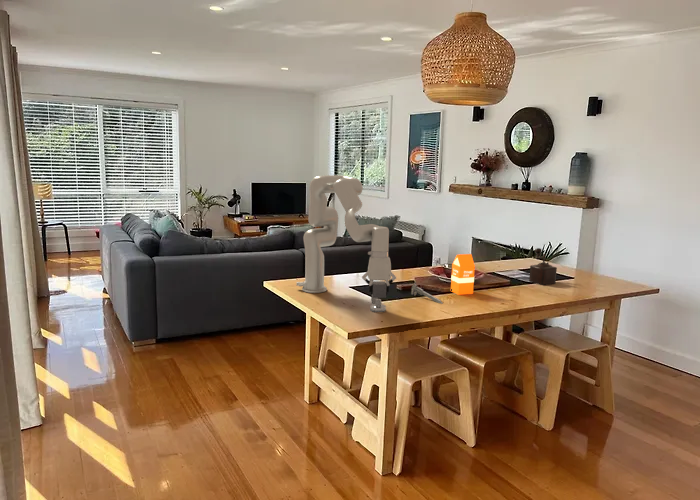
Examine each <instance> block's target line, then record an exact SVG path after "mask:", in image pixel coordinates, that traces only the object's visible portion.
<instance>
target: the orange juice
mask: <svg viewBox="0 0 700 500" xmlns="http://www.w3.org/2000/svg"><path fill="white" fill-rule="evenodd" d="M474 262H475V261H474V259H473V255H472V253H462V254H460V253H459V254H456V256H455V257H454V260H453V262H452V263H451V275H450V276H451V277H450V281H451V283H450V290H451V289H452V291H451V292H452V293H453V294H456V295H457V296H460V295H472V294H474V283H475V270H476V269H475V268H476V265H475V263H474Z"/></svg>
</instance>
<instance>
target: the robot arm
mask: <svg viewBox="0 0 700 500" xmlns="http://www.w3.org/2000/svg"><path fill="white" fill-rule="evenodd" d="M363 190H364V189H363V184H362V182H361V181H360V180H359V179H358V178H357V177H352V176H351V177H350V176H346V175H340V174H339V175H338V174H337V175H336V174H333V175H329V174H328V175H327V174H326V175H325V174H324V175H317V176H314V177H313V178H312V180H311V181H310V184H309V197H310V198H309V208H308V218H307V219H308V224H309V226H312V227H314V228H312V229H308V230H307V231H305V232H304V233H303V246H304V254H305V257H304V259H305V264H304V265H305V268H304V269H305V272H304V273H305V276H304V278H305V279H304V281H296V284H295V285H296V286H298V287H302V288H301V290H302V291H303V292H305V293H309V294H310V293H311V294H320V293H325V292H326V291H327V290H328V288H327V286H325V254H324V252H323V250H322V248H323V247H330V246H333V245H334V244H335V243H336V241H337V235H338V226H339V213H338V211H337V209H336V208H334V207H333V206H327V205H328V198H327V195H326V194H335V195H336V196H337V198H338V200H339V201H340V204H341V205H342V207H343V209H344V211H345V214H344V226H345V228H346V229H345V230H346V231H347V233H348V235H349V236H350V237H351V239H352V240H353V241H354V242H356V243H364V242H371V251H368V252H367V255H369V259H368V266H367V271H365V272H364V274H363V275H362V276H361V278H362V280H363V281H364V282H365V283H366V284H367V285H368V293H370V295H371V296H372V289H373V286H372V283H373V281H385V283H386V296H387V295H388V293H389V292H390V291H389V290H390V289H389V288H390V285H391V284H392V283H393V282H394V281H395V280H396V279H397V276H396V275H395V274H394V273H393V271H392V263H391V258H390V256H389V238H390V230H389V227H388V226H381V225H380V226H379V225H378V224H374V223H369V224H360V223H359V222H358V221H357V218H356V215H355V214H357V212H358V211H360V210H361V209H362V207H363V202H362V200H361V199H360V197H359V196H360V195H361V194H362V193H363ZM315 227H316V228H315ZM317 227H318V228H317Z"/></svg>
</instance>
